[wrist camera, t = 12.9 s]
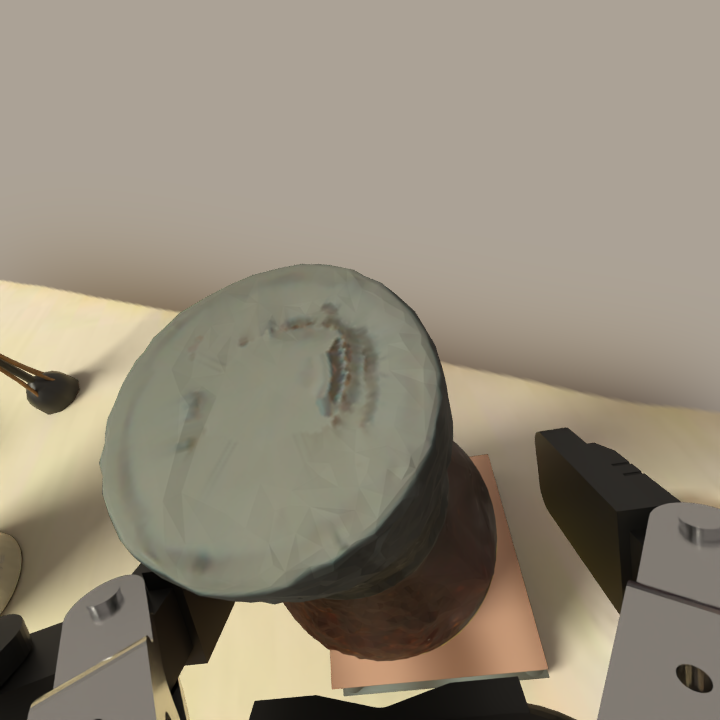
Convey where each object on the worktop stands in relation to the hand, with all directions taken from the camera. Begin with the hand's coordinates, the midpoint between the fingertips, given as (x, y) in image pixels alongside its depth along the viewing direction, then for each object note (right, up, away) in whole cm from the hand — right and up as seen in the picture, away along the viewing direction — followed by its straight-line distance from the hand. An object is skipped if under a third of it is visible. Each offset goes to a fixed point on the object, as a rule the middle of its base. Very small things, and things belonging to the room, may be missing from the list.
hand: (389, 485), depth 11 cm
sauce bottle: (+2, -7, +10) cm, 13 cm away
